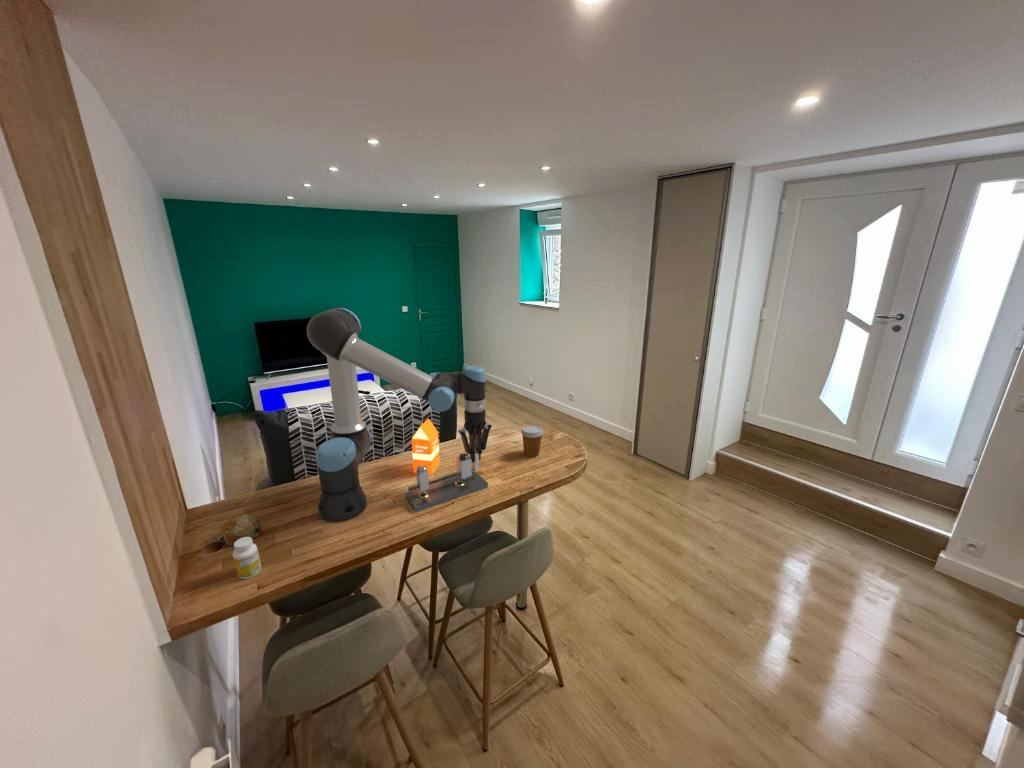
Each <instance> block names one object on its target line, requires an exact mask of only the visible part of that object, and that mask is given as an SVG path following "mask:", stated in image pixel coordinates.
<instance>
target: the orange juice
mask: <svg viewBox="0 0 1024 768" xmlns="http://www.w3.org/2000/svg"><path fill="white" fill-rule="evenodd" d="M439 442H440V441H439V431H438V430H437V429H436V427H435V425H434V424H433V423H432V421H431V420H430V419H429V418H427V419H426V420H425V421H424V422H423V423H422V424H421V425H420V426H419V427H418V429H417V431H415V433H414V435H413V436H412V437H411V449H412V453H411V454H412V466H413V473H416V469H417V467H418V466H420V465H425V466H427V470H428V475H433V474H434V472H435V471H436V469H437V468H438V466H439V465H440V445H439ZM416 474H417V473H416Z"/></svg>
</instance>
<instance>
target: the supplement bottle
mask: <svg viewBox="0 0 1024 768" xmlns="http://www.w3.org/2000/svg"><path fill="white" fill-rule="evenodd" d="M253 541H254V540H253V539H252V538H251V537H243V538H240V539H238V540H237V541H236V542H235V543H234V546H233V548H234V550H233V552H232V559H233V562H234V567H235V571H236V575H237V577H238V578H239V579H241V580H247V579H250V578H253V577H255V576H256V575H258V573H260V571H261V570H262V564H261V559H260V554H259V550H258V547H257V544H256V543H254V542H253Z"/></svg>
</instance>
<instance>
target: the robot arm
mask: <svg viewBox="0 0 1024 768" xmlns="http://www.w3.org/2000/svg"><path fill="white" fill-rule="evenodd" d="M361 328H362V325H361V321H360V319H359V317H358V316H357V314H355V313H354V312H353V311H351V310H349V309H348V308H343V307H337V308H330V309H328V310H325V311H324V312H323V311H322V312H320V313H317V314H315V315H314V316H313V317H311V319H310V320H309V322H308V323H307V326H306V336H307V339H308V340H309V342H310V344H311V345H312V347H314V348H315V349H316V350H317V351H319V352H321V354H323V355H324V356H325V357H326V361H327V370H328V378H329V386H330V392H331V393H330V394H331V401H332V411H333V420H334V423H333V424H332V425H331V426H330V434H331V438H330V439H328V440H327V441H324V442H322V443H321V444H320V445H319V446H318V447H317V449H316V453H315V455H316V458H315V461H316V465H317V471H318V472H317V473H318V478H319V485H320V491H321V492H320V496H319V501H318V506H317V511H318V516H319V518H320V519H321V520H323V521H326V522H330V523H331V522H332V523H340V522H345V521H348V520H351V519H354V518H356V517H358V516H359V515H361V514H362V513H363V512H364V511H365V510H366V508H367V507H368V500H367V498H368V497H367V495H366V494H365V492H364V490H363V487H362V486H361V484H360V476H359V466H360V463H361V462H362V461H363V459H364V457H365V456H366V454H367V453H368V451H369V449H370V446H371V444H372V443H371V442H372V435H371V432H370V430H369V429H368V428H367V423H366V422H365V421H364V420H363V419H362V415H361V406H360V405H361V404H360V403H361V402H360V395H359V385H358V383H359V382H358V376H357V367H358V368H360V369H362V370H364V371H366V372H368V373H370V374H372V375H373V376H376V377H378V378H380V379H381V380H384V381H385V382H388V383H390V384H392V385H394V386H395V387H398V388H400V389H402V390H404V391H406V392H408V393H410V394H413V395H415V396H416V397H418V398H420V399H422V400H424V401H426V402H427V403H428V405H429V406H430V408H432V410H434V411H436V412H446V411H448V410H449V409H450V408H451V407H452V406H453V403H454V401H455V397H456V396H455V395H463V409H464V413H463V414H464V415H463V416H464V423H463V428H461V429H458V430H457V433H458V434H459V435H460V438H461V442H462V445H463V449H464V452H465V453H466V454H468V455H469V457H470V458H471V467H472V468H473V469H474V470H475V471H479V470H480V460H481V459H482V454H483V451H485V450H487V444H488V438H489V434H490V431H491V429H492V425H491V423H489V422H487V421H486V416H487V415H486V370H485V368H484V367H483V366H481V365H467V366H465V367H464V368H463V370H462V371H461V372H440V371H439V372H430V373H429V374H428V373H426V372H423V371H422V370H420V369H418V368H416V367H415V366H412V365H410V364H408V363H407V362H404V361H403V360H401V359H399V358H397V357H394V356H393V355H391V354H389V353H388V352H385V351H383V350H382V349H379V348H377V347H375V346H373V345H372V344H369V343H368V342H366V341H364V340H362V339H361V338H359V336H360V334H361V330H362V329H361ZM467 433H468V436H467Z"/></svg>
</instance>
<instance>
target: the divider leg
mask: <svg viewBox="0 0 1024 768" xmlns="http://www.w3.org/2000/svg"><path fill="white" fill-rule="evenodd" d="M455 458H456V459H455V460H456V472H457V475H458V476H459V477H460V478H461V479H463V480H466V478H467V477H470V476H472V472H473V471H472V462H471V458H470V455H469V454H468V453H466V452H465V453H460V454H459V455H458V456H456V457H455Z"/></svg>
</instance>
